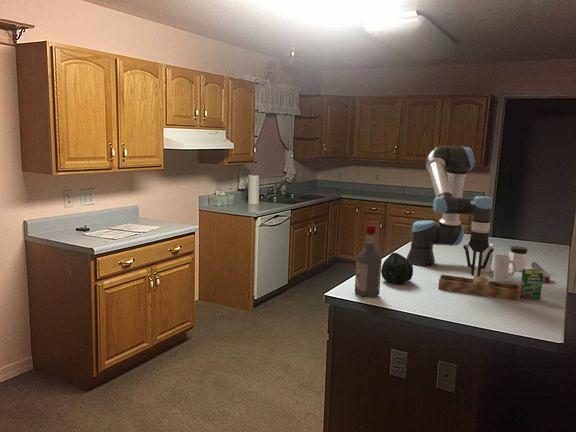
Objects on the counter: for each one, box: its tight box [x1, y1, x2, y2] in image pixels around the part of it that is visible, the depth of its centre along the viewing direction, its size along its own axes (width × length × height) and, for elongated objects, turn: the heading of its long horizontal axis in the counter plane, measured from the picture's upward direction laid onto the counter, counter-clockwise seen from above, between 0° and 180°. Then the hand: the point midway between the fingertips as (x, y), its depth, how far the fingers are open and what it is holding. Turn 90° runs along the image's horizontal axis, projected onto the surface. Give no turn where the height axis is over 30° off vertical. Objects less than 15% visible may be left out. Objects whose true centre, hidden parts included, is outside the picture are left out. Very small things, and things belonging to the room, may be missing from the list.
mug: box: [493, 254, 517, 282], centre depth 236 cm, size 10×7×12 cm, turn 55°
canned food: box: [530, 261, 551, 284], centre depth 240 cm, size 11×10×10 cm
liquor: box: [354, 224, 382, 298], centre depth 204 cm, size 9×9×30 cm
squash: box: [381, 252, 414, 285], centre depth 227 cm, size 14×15×15 cm
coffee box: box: [520, 268, 543, 301], centre depth 208 cm, size 8×3×13 cm, turn 90°
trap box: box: [437, 273, 521, 302], centre depth 216 cm, size 34×10×4 cm, turn 67°
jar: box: [508, 245, 529, 272], centre depth 259 cm, size 9×8×12 cm
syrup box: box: [481, 242, 495, 273], centre depth 253 cm, size 6×6×14 cm
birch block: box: [476, 275, 490, 286], centre depth 215 cm, size 5×5×4 cm
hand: (474, 282), depth 216 cm, fingers closed
